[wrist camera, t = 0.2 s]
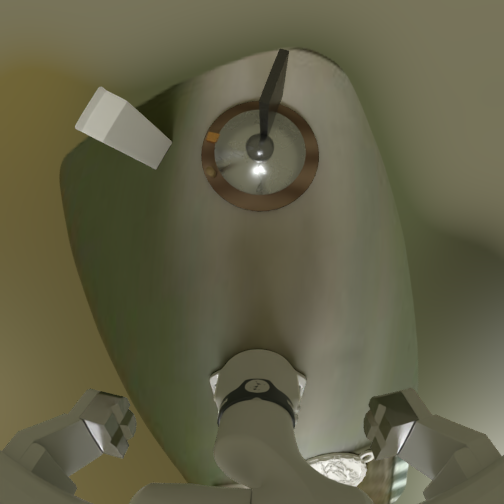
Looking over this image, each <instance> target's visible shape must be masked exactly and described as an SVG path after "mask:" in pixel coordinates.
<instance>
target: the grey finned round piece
mask: <svg viewBox="0 0 504 504" xmlns="http://www.w3.org/2000/svg"><path fill="white" fill-rule="evenodd" d="M288 54H289V51H287V50H284V49H280V50H279V52H278V54H277V57H276V59H275V62H274V64H273V67H272V69H271V72H270V74H269V77H268V79H267V82H266V85H265V87H264V90H263V92H262V95H261V97H260V100H259V110H250V111H246V112H243V113H241V114H239V115H237V116H235V117H233V118H232V119H231V120H229V121H228V122H227V123H226V124H225V125H224V127H223V128H222V129H221V131H220V132H219V134H217V133H213V132H209V133H208V136H207V138H206V141H207V142H209V143H213V144H215V149H214V155H215V161H216V165H217V167H218V169H219V171H220V173H221V175H222V176H223V177H224V179H225V180H226V181H227V182H228V183H229V184H230V185H231V186H233V187H234V188H236V189H238V190H239V191H242V192H244V193H247V194H251V195H269V194H273V193H276V192H279V191H281V190H283V189H285V188H286V187H288V186H289V185H290V184H291V183H292V182H293V181H294V180H295V179H296V178H297V177H298V175H299V174H300V172H301V170H302V168H303V165H304V162H305V157H306V147H305V142H304V139H303V136H302V134H301V132H300V131H299V129H298V128H297V127H296V125H295V124H294V123H293V122H292V121H290V120H289V119H288V118H286V117H285V116H283V115H281V114H279V113H277V110H278V107H279V105H280V102H281V99H282V96H283V89H284V82H285V75H286V68H287V61H288Z"/></svg>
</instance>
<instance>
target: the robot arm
mask: <svg viewBox="0 0 504 504" xmlns="http://www.w3.org/2000/svg"><path fill="white" fill-rule="evenodd" d="M210 384H211V387H212V390H213V393H214V401H215V402H216V405H217V407H218V410H219V411H218V427H219V428H218V432H217V437H216V441H215V445H214V458H215V461H216V463H217V465H218V466H219V468H220V469H221V470H222V471H223V472H224V473H225V474H226V475H227V476H228V477H229V478H231V479H232V480H234V481H236V482H238V483H240V484H243V485H245V486H247V487H249V488H251V489H243V488H226V487H214V486H205V485H197V484H174V483H150V484H148V485H146V486H144V487H143V488H141V489H140V490H139V491H138V492H137V493H136V494H135V495H134V496H133V498H132V499H131V501H130V503H129V504H374V503H373V502H372V500H371V499H370V497H369V496H368V495H367V494H366V493H365V492H363V491H362V490H361V489H359V488H357V487H355V486H351V485H346V484H343V483H340V482H337V481H334V480H332V479H330V478H328V477H326V476H324V475H323V474H321V473H320V472H318V471H317V470H315V469H314V468H313V467H312V466H311V465H309V464H308V463H307V462H306V460H305V459H304V458H303V457H302V455H301V454H300V452H299V449H298V446H297V442H296V439H295V434H294V427H295V425H296V424H297V421H298V415H297V414H295V412H299V411H300V405H299V403H300V402H301V397H302V394H303V391H304V388H305V385H306V377H305V376H304V375H302V374H301V373H299V372H297V371H295V370H294V369H293V367H292V366H291V364H290V363H289V362H288V361H287V360H286V359H285V358H284V357H282V356H281V355H279V354H277V353H275V352H272V351H268V350H262V349H254V350H247V351H244V352H241V353H239V354H237V355H235V356H234V357H232V358H231V359H230V360H229V361H228V362H227V363H226V364H225V366H224V367H223V368H222V369H221V370H219V371H217V372H215V373H213V374H212V375H211V376H210ZM299 385H301V386H299ZM129 406H130V404H129V401H128V399H127V398H126V397H123V396H118V395H113V394H110V393H106V392H102V391H97V390H94V389H89V390H87V391H86V392H85V393H84V394H83V396H82V397H81V398H80V400H79V401H78V402H77V403H76V405H75V406H74V407H73V408H72V410H71V411H70V412H69V414H62V415H60V416H57V417H55V418H52V419H50V420H48V421H45V422H43V423H40V424H37V425H34V426H32V427H29V428H26V429H23V430H21V431H18V432H17V434H16V435H15V436H14V437H13V438H12V440H11V441H10V442H9V443H8V444H7V446H6V447H5V448H4V449H3V451H0V504H92V503H90V502H87V501H85V500H83V499H81V498H78V497H76V496H74V493H75V491H76V489H77V487H76V485H75V484H74V483H73V481H72V480H71V479H70V478H69V477H68V476H70V475H72V474H73V473H75V472H76V471H78V470H79V469H81V468H82V467H84V466H86V465H87V464H89V463H90V462H92V461H93V460H95V459H96V458H98V457H99V456H100V455H102V453H105V454H108V455H112V456H116V457H120V458H123V457H124V455H125V453H126V451H127V449H128V447H129V444H128V442H127V440H129V439H130V438H132V437H133V436H134V433H135V431H136V418H135V416H134V414H133V413H132V412H131V411H130V410H129V409H128V408H129ZM369 407H370V410H369V411H368V412H367V413H366V415H365V418H364V432H365V435H366V438H368V439H369V440H371V441H373V442H372V444H371V446H370V448H371V450H372V453H373V455H374V458H375V460H380V459H384V458H388V457H392V456H396V455H398V457H400V458H401V459H403V460H404V461H405V462H407V463H408V464H410V465H411V466H413V467H414V468H416V469H417V470H418V471H420V472H421V473H423V474H424V475H426V476H427V477H429V478H430V479H432V482H431V483H430V484H429V485H428V486H427V487H426V488H425V490H424V492H423V494H424V496H425V499H426V501H423V502H421V503H419V504H504V455H503V456H501V455H500V453H499V452H498V450H497V449H496V448H495V446H494V445H493V444H492V442H491V441H490V440H489V439H488V437H487V436H486V434H483V433H480V432H478V431H475V430H473V429H470V428H467V427H465V426H462V425H460V424H457V423H455V422H452V421H450V420H448V419H445V418H443V417H440V416H438V415H432V414H431V413H430V411H429V410H428V408H427V407H426V405H425V404H424V403H423V401H422V400H421V398H420V397H419V396H418V394H417V393H416V391H415V390H414V389H413V388H408V389H404V390H400V391H396V392H392V393H388V394H383V395H378V396H374V397H372V398H371V399H370V402H369ZM252 489H253V491H252Z"/></svg>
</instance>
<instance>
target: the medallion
mask: <svg viewBox="0 0 504 504" xmlns="http://www.w3.org/2000/svg"><path fill="white" fill-rule="evenodd" d="M366 455H370V456H369V457H368V458H365V459H362V458H363V457H364V456H366ZM373 458H374V455H373V453H372V450H367V451H364V452H362V453H361V454H359V456H358V455H355V454H351V453H331V454H325V455H321V456H317V457H314V458H310V459H308V460H306V462H307V463H308V464H309V465H311V466H312V467H313V468H314V469H315V470H317V471H318V472H320V473H321V474H323V475H324V476H326V477H328V478H330V479H332V480H334V481H337V482H340V483H343V484H346V485H351V486H355V487H356V486H357V485H358V484H359V483H360V482H362V481H363V480H362V479H363V478H364V477H365V476H366V471H367V468H366V467H367V466H366V464H365V463H367V462H369V461H371V460H372V459H373Z"/></svg>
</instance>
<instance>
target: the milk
mask: <svg viewBox="0 0 504 504" xmlns="http://www.w3.org/2000/svg"><path fill="white" fill-rule="evenodd" d="M75 128H76V129H77V130H79V131H81V132H83V133H85V134H87V135H89V136H91V137H93V138H95V139H97V140H99V141H101V142H103V143H105V144H107V145H109V146H111V147H113V148H115V149H117V150H119V151H121V152H123V153H125V154H127V155H129V156H130V157H132V158H134V159H136V160H138V161H140V162H142V163H144V164H146V165H148V166H150V167H152V168H154V169H157V167H158V166H159V164H160V162H161V160H162V159H163V157H164V155H165V154H166V152H167V150H168V149H169V147H170V145H171V144H172V141H171V140H170V139H169V138H168V137H166V136H165V135H164V134H163V133H162V132H161V131H160V130H159V129H158V128H157V127H155V126H154V125H153V124H152V123H151V122H150V121H149V120H148V119H147V118H146V117H144V116H143V115H142V114H141V113H140V112H139V111H138V110H137V109H136V108H134V107H133V106H132V105H131V104H130V103H129V102H127V101H126V100H124V99H122V98H120V97H119V96H116V95H115V94H113V93H111V92H109V91H107V90H105V89H104V88H103V87H99V88H98V89H97V91H96V92H95V94H94V96H93V97H92V99H91V100H90V102H89V103H88V105H87V107H86V108H85V110H84V112H83V114H82V115H81V117H80V118H79V120H78V122H77V124H76V126H75Z"/></svg>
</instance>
